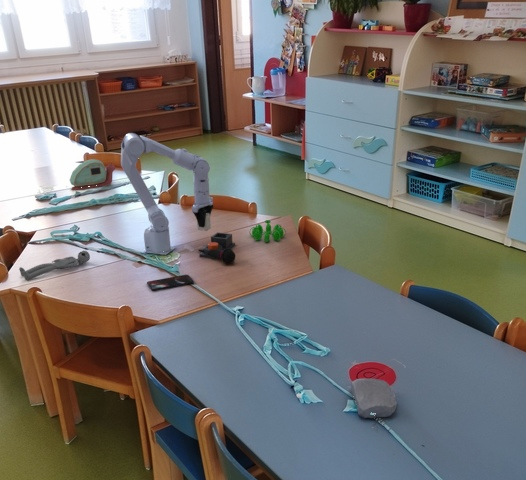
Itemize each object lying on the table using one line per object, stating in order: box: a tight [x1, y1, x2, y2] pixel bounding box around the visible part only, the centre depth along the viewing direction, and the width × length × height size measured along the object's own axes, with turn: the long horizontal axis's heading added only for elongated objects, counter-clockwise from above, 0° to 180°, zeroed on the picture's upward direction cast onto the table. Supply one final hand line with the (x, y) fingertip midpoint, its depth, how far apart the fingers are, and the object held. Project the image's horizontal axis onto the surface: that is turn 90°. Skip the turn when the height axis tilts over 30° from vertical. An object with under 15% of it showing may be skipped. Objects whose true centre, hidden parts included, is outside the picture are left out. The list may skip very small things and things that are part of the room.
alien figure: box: [18, 250, 91, 281], centre depth 208 cm, size 8×5×25 cm
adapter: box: [199, 241, 236, 261], centre depth 224 cm, size 8×16×3 cm, turn 159°
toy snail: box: [69, 158, 116, 191], centre depth 304 cm, size 25×8×14 cm, turn 122°
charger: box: [196, 213, 211, 232], centre depth 225 cm, size 4×3×6 cm
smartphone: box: [146, 274, 195, 291], centre depth 198 cm, size 7×1×15 cm
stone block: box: [350, 377, 398, 419], centre depth 137 cm, size 12×5×10 cm
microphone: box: [198, 248, 236, 265], centre depth 217 cm, size 6×6×20 cm
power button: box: [207, 241, 218, 250], centre depth 219 cm, size 4×4×2 cm
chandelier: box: [249, 220, 287, 243], centre depth 235 cm, size 15×15×7 cm
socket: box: [210, 231, 233, 248], centre depth 226 cm, size 6×6×5 cm
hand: (203, 225), depth 226 cm, fingers closed on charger, 3 cm apart
